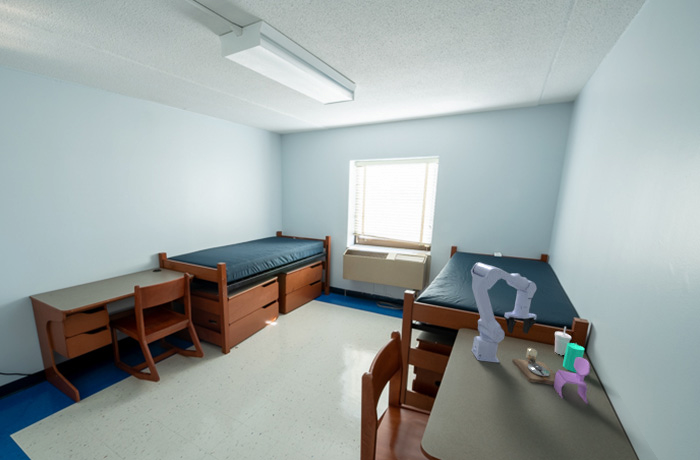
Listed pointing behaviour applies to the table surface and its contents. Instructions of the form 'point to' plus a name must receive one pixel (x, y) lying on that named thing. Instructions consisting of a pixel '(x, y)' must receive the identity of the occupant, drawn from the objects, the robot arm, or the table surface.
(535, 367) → the crank dial
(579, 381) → the chair
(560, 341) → the smoothie
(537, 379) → the stand
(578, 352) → the candle
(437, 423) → the table surface
